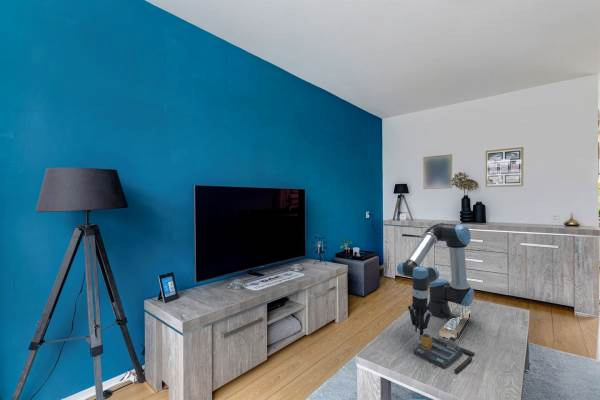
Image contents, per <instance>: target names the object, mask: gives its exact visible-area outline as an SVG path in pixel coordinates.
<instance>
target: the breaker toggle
mask: <svg viewBox="0 0 600 400" xmlns="http://www.w3.org/2000/svg"><path fill="white" fill-rule="evenodd" d="M420 343H421V346H423V347H425V348H427V349H431V348H432V335H431V334H428V333H423V335H422V336H421V340H420Z"/></svg>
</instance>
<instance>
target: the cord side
mask: <svg viewBox="0 0 600 400" xmlns="http://www.w3.org/2000/svg"><path fill="white" fill-rule="evenodd" d="M472 360H473V357H472V356H468V358H466V359H465V360H463V361H462V362H461V363H460V364H459V365H458V366H457V367H455V368H454V370H453V371H454V373H455V374H458V373H459V372H460V371H462V369H464V368H465V367H466V366H467V365H468V364H469V363H470V362H471V361H472Z"/></svg>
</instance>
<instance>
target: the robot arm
mask: <svg viewBox="0 0 600 400" xmlns="http://www.w3.org/2000/svg"><path fill="white" fill-rule="evenodd" d="M471 236H472V235H471V231H470V229H469V228H468V227H467V226H466V225H464V224H463V225H462V224H457V223H456V224H454V223H443V222H442V223H435V224H433V225H431V226H430V227H428V228H427V229H425V231H424V232H423V234H422V238H421V239H420V241H419V242H418V244H417V245H416V247H415V248H414V249H413V251H412V252H411V253H410V255H409V257H408V258H407V259H406V260H405V262H404V261H403V262H402V261H401V262H399V263H398V264H397V266H396V271H397V274H398V275H401V276H403V277H408V278H412V297H411V298H412V299H411V300H412V303H411V304H410V305H408V306H407V308H408V311H409V315H410V321H411V325H413V326H414V327H415V334H416V341H418V342H421V336H422V335H423V334H424V330H426V329H428V327H429V323H430V319H431V316H433V317H437V318H449V317H448V316H449V315H450V314H451V315H452V311H451V307H450V305H449V302H450V303H453V304H457V305H460V306H464V307H469V306H471V305H472V303H473V301H474V297H475V291H474V289H473V288H471V285H470V283H469V282H468V281H467V280H468V279H467V265H466V264H467V263H466V251H465V248H467V247H468V245H469V244H470V242H471ZM438 242H445V245H446V247H447V248H448V250H449V260H450V261H449V264H450V276H451V281H450V282H449V280H448V279H445V278H440V272H439V270H438V269H437V268H436V267H434V266H429V267H428V266H427V267H425V266H420V265H421V264H422V262H423V261H424V259H426V256H427V255H428V253H429V252H430V250H432V247H433V246H434V245H436V244H437V243H438ZM428 291H429V293H428ZM428 294H429V297H428ZM428 299H429V300H428Z"/></svg>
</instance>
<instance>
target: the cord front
mask: <svg viewBox="0 0 600 400" xmlns="http://www.w3.org/2000/svg"><path fill="white" fill-rule="evenodd" d="M437 339H440V340H442V341H445V342H447V340H445V339H443V338H441V337H438V338H437ZM459 348H461V351H462V354H465V355H468V356H469V357H471V358H473V357H474V356H475V352H474V351H472V350H469V349H467V348H465V347H462V346H459Z"/></svg>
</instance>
